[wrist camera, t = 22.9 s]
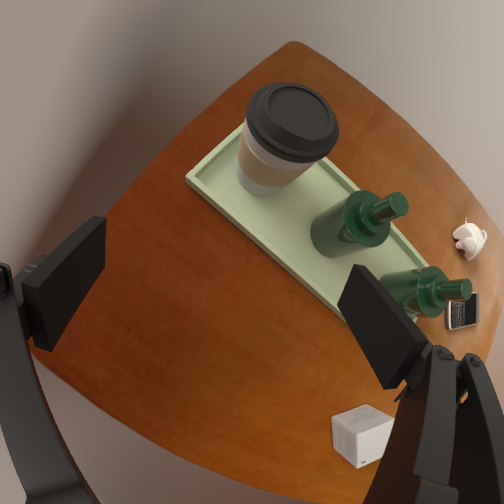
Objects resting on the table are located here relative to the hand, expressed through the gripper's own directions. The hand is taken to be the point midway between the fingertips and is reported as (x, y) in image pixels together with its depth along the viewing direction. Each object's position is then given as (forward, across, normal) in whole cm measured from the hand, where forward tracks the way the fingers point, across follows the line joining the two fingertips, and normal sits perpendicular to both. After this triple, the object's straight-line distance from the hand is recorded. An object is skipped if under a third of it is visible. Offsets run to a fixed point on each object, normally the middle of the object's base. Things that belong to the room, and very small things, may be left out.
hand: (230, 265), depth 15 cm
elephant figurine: (+25, +44, 0) cm, 51 cm away
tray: (+22, +15, -4) cm, 27 cm away
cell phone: (+18, +46, -11) cm, 50 cm away
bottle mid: (+22, +15, -4) cm, 27 cm away
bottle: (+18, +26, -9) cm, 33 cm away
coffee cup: (+26, +5, +2) cm, 26 cm away
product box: (+7, +23, -27) cm, 36 cm away
